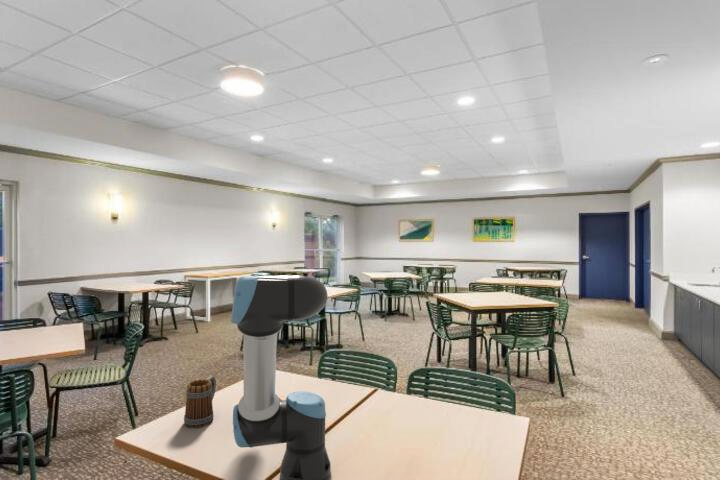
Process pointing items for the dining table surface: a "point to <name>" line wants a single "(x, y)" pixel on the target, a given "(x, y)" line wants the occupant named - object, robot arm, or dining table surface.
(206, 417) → the mug
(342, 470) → the dining table surface
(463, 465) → the dining table surface
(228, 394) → the dining table surface
